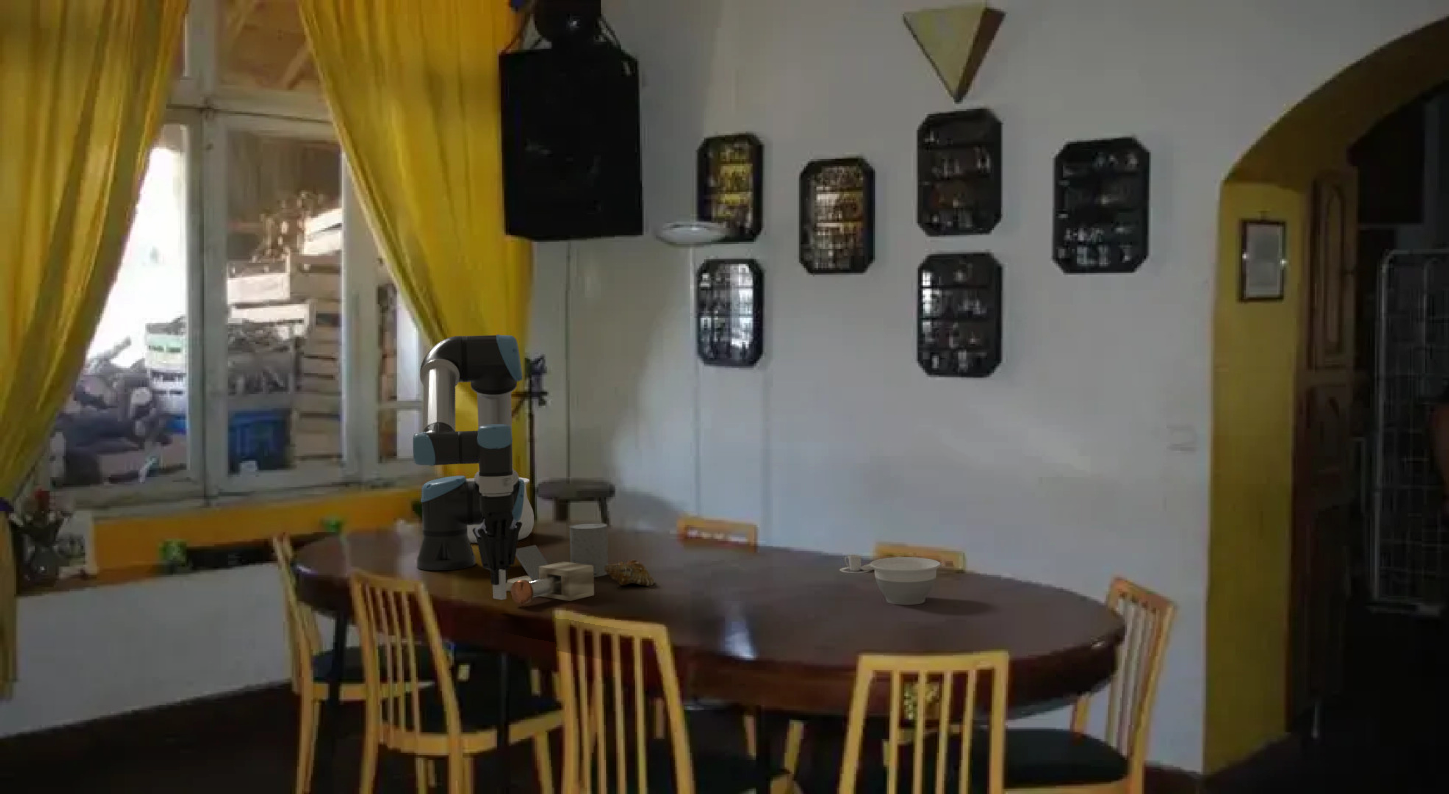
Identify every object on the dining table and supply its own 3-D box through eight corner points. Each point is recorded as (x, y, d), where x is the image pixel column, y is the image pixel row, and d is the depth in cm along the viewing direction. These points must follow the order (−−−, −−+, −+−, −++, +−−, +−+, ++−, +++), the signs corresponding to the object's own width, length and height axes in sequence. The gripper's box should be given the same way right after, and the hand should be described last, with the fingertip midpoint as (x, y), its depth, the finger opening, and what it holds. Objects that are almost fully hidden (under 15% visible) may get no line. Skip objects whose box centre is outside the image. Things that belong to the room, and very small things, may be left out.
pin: (511, 602, 332) (510, 580, 332) (555, 592, 343) (554, 570, 343) (527, 605, 329) (526, 582, 328) (571, 594, 340) (570, 572, 339)
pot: (527, 544, 416) (526, 486, 415) (442, 546, 417) (440, 487, 415) (540, 530, 442) (538, 475, 441) (460, 531, 442) (458, 476, 441)
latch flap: (512, 551, 348) (514, 548, 347) (533, 547, 353) (536, 544, 353) (535, 586, 344) (537, 583, 343) (556, 581, 349) (558, 578, 349)
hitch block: (502, 590, 350) (501, 561, 350) (526, 584, 357) (525, 556, 356) (569, 601, 336) (569, 571, 336) (594, 595, 342) (593, 565, 342)
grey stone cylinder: (602, 577, 364) (601, 528, 363) (565, 576, 366) (564, 528, 365) (612, 570, 373) (611, 523, 372) (577, 569, 375) (575, 522, 374)
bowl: (923, 610, 318) (923, 572, 318) (858, 604, 327) (857, 566, 326) (952, 597, 332) (952, 560, 331) (889, 591, 340) (888, 555, 340)
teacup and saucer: (880, 571, 367) (879, 555, 367) (860, 576, 361) (860, 560, 361) (852, 567, 373) (852, 551, 373) (833, 572, 367) (832, 556, 367)
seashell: (632, 602, 348) (611, 567, 347) (618, 602, 356) (597, 568, 354) (661, 580, 353) (640, 546, 351) (646, 580, 360) (626, 547, 358)
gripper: (485, 498, 317) (489, 605, 318) (529, 491, 327) (532, 595, 328) (462, 496, 322) (466, 601, 323) (506, 489, 332) (509, 591, 333)
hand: (499, 598), depth 326 cm, fingers closed
